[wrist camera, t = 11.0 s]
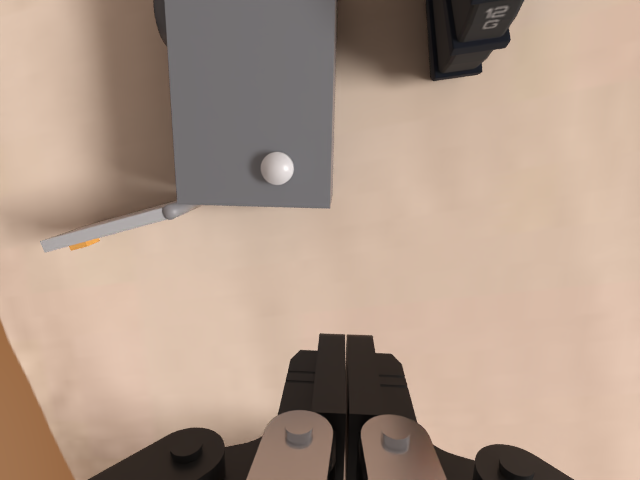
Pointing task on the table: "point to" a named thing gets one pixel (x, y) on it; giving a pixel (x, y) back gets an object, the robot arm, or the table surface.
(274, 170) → the camera box
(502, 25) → the black piece
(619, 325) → the table surface
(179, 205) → the side door
